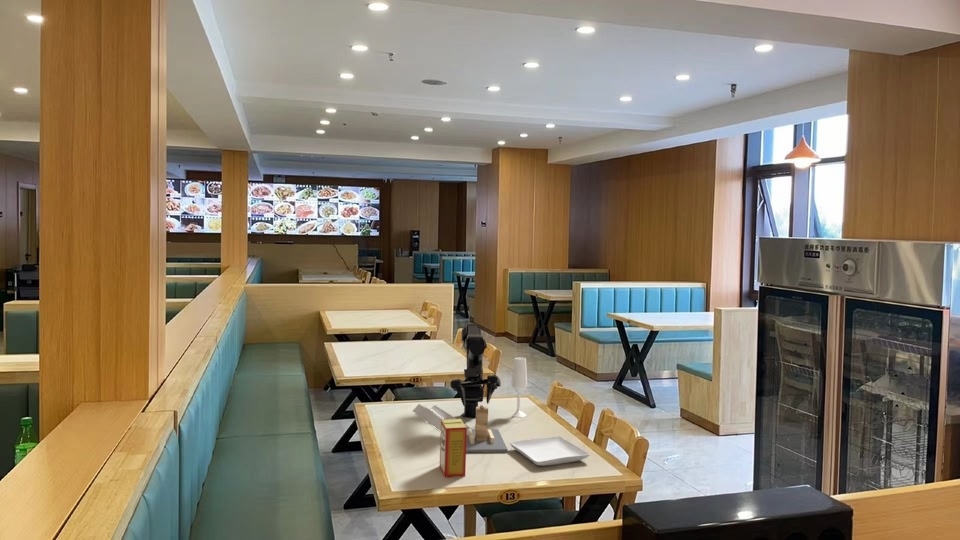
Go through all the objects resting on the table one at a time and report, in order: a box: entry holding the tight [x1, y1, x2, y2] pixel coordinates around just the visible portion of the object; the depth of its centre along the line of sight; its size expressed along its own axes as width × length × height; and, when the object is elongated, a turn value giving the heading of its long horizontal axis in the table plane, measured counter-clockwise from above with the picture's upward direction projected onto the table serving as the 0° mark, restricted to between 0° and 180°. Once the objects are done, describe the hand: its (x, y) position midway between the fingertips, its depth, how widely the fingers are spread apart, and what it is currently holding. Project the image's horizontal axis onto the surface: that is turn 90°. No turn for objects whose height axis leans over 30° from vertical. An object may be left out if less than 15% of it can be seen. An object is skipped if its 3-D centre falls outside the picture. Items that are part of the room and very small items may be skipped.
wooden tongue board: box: [474, 404, 489, 441], centre depth 235 cm, size 4×4×12 cm
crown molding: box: [412, 403, 471, 432], centre depth 260 cm, size 31×12×4 cm, turn 28°
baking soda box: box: [439, 418, 467, 478], centre depth 206 cm, size 10×6×16 cm
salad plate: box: [509, 435, 591, 467], centre depth 224 cm, size 21×21×3 cm
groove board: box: [466, 428, 508, 454], centre depth 235 cm, size 22×16×3 cm
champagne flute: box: [509, 356, 528, 418], centre depth 270 cm, size 7×7×24 cm
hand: (475, 404), depth 244 cm, fingers open, 9 cm apart
